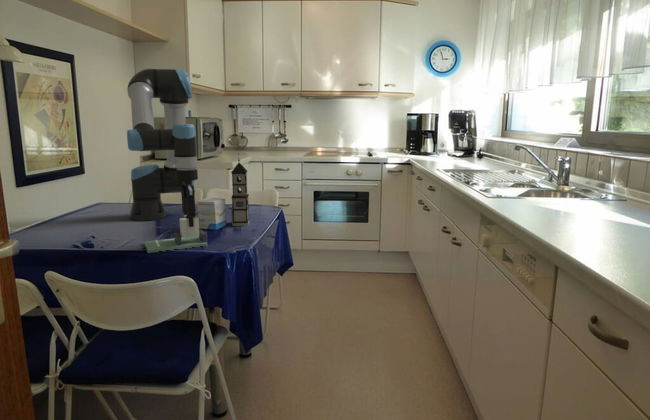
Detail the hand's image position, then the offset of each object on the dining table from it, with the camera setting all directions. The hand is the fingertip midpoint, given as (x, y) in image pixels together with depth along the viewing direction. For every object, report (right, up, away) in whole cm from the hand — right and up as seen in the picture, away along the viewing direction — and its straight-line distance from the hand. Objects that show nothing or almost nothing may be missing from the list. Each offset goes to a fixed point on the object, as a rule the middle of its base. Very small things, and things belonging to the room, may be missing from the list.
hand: (190, 233), depth 164 cm
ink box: (+2, +1, +26) cm, 26 cm away
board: (-5, -4, 0) cm, 6 cm away
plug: (0, 0, 0) cm, 0 cm away
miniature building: (+12, +2, +31) cm, 34 cm away
